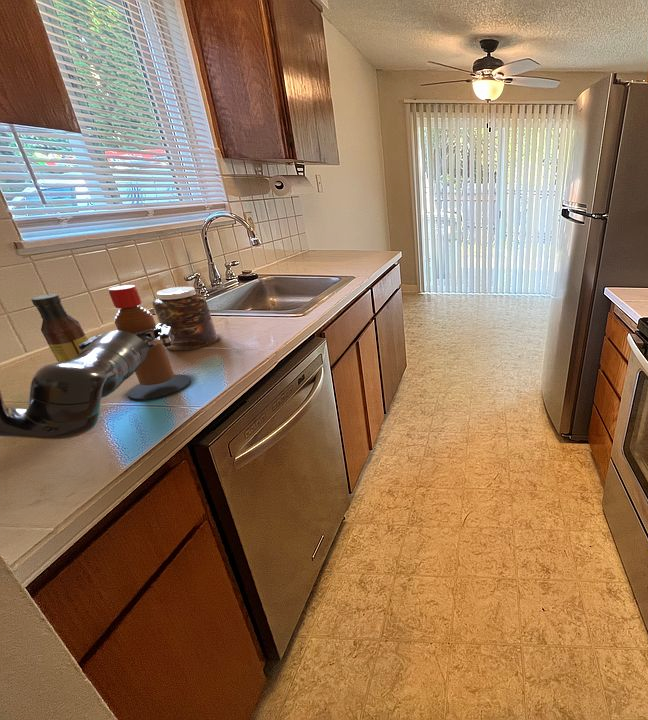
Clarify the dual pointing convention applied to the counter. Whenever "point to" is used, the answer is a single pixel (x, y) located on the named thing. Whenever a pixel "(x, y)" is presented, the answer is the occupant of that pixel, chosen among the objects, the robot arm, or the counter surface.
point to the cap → (124, 296)
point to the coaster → (159, 388)
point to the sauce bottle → (59, 328)
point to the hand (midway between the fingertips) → (143, 329)
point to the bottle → (156, 361)
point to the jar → (185, 317)
